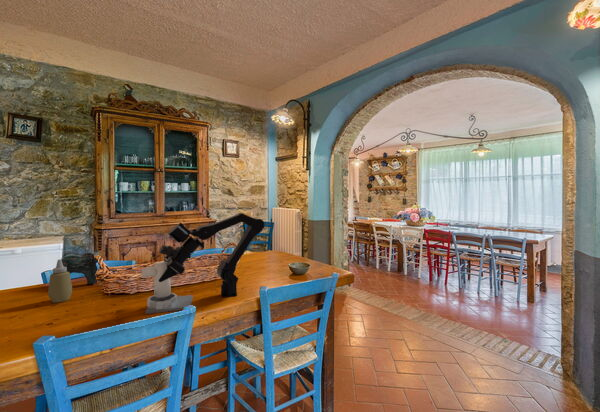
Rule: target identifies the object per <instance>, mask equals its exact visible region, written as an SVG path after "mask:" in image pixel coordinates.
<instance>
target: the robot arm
mask: <svg viewBox="0 0 600 412" xmlns="http://www.w3.org/2000/svg"><path fill="white" fill-rule="evenodd" d="M240 223H243V224H245V225H247V226H246V228H245V233H244V234H243V235H242V237H241V239H239V242H238V243H237V245H236V246H235V248H234V249H233V251H232V252H231V254H230V255H229V257H228V258H227V259H225V260H224V259H221V261H220V264H219V265H218V266H217V268H216V273H217V276H218V277H220V278H221V280H222V283H221V284H220V294H221V297H222V298H228V297H237V296H238V292H237V289H238V288H237V283H238V281H239V277H237V275H235V271H236V270H237V269H236V268H237V264H238V262H239V261H240V259H242V258H241V257H242V256H243V254H244V253H245V251H246V250H247V249H248V247H249V245H250V244H251V242H252V241H253V239H254V238H255V237H256V236H258V235H259V234H260V233H261V232H262V231H263V230H264V228H265V221H264V220H263V219H261V218H255V217H253V216H249V215H247V214H245V213H242V212H238V213H237V214H235V215H232V216H230V217H227V218H224V219H222V220H219V221H217V222H214V223H209V224H202V225H199V226H197V227H195V228H194V229H188V228H187V227H186V226H185V225H184V224H183V223H182V222H179V223H177V224H176V225H175V226H174V227H172V228H171V229H170V231H168V233H167V235H168V236H170V238H172V239H173V240H174V241H175V242H177V243H178V244H180V243H182V244H181V246H177V247H176V248H174V247H173V246H171V245H166V244H162V245H161V247H160V249H159V251H158V252H159V253H160V254H161V255H164V257H163V258H164V259H163V262H169V263H168V264H167V269H166V270H165V272H164V273H163V275H162V276H161V277H160V279H159V280H158V281H159V282H162V281H164V280H166V279H169V278H170V279H171V278H172V277H175V276H178V275H183V274H184V272H185V271H186V270H185V264H184V263H185V262H186V261H187V260H188V259H190V258H192V256H193V254H194V253H195V252H196V251H197V249H198V248H199V247H200V248H202V249H205V241H207V240H209V239H210V238H212V237H214V236H215V235H216V234H218V233H219V232H222V230H226V229H227V228H230V227H233V226H235V225H237V224H238V225H239V224H240ZM192 236H193V237H194V238H193V237H192ZM199 239H200V240H201V241H200V240H199Z"/></svg>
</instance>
